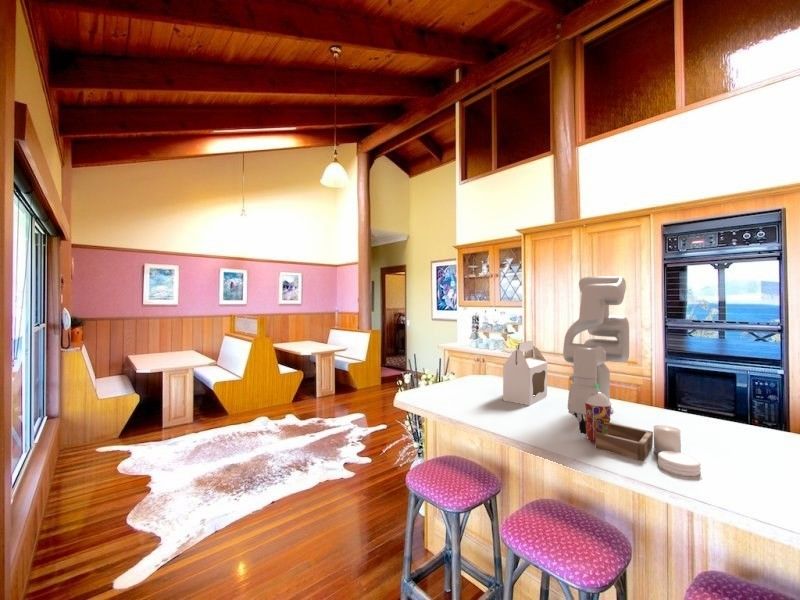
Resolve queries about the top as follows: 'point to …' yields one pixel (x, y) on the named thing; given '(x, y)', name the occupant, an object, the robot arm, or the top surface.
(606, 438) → the u rest
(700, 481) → the top surface
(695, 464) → the coaster
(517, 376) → the gable box
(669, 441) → the beige cylinder
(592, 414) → the smoothie
